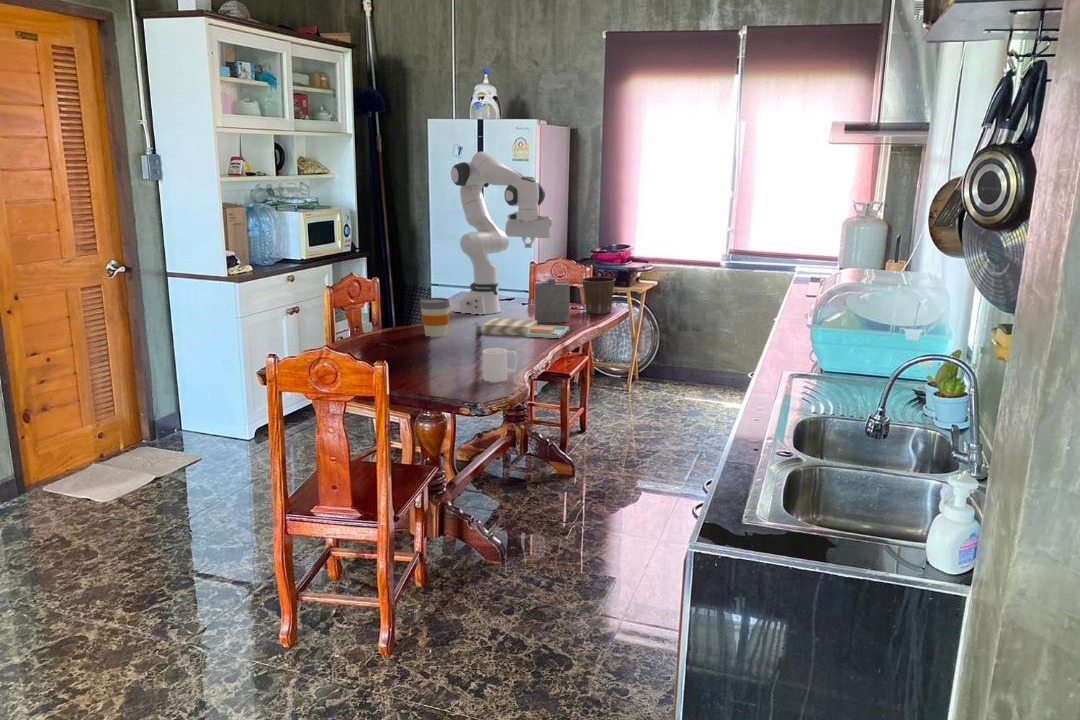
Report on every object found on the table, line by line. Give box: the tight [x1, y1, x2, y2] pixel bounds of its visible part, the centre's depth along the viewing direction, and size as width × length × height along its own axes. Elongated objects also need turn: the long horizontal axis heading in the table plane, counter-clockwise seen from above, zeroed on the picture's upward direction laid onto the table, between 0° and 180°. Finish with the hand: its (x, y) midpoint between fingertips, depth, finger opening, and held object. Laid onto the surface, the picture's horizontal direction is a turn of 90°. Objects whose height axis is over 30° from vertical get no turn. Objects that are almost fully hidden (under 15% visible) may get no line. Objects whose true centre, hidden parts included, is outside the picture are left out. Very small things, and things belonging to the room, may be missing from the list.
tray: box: [526, 324, 570, 339], centre depth 350 cm, size 14×18×2 cm
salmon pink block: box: [531, 325, 555, 335], centre depth 350 cm, size 9×6×2 cm, turn 75°
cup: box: [482, 347, 519, 383], centre depth 280 cm, size 8×12×10 cm
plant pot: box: [581, 276, 616, 315], centre depth 393 cm, size 16×16×16 cm
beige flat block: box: [482, 317, 538, 337], centre depth 354 cm, size 20×14×4 cm
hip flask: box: [534, 277, 571, 323], centre depth 372 cm, size 16×4×20 cm, turn 81°
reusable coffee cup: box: [419, 297, 451, 338], centre depth 347 cm, size 13×13×15 cm
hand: (528, 247), depth 356 cm, fingers closed
